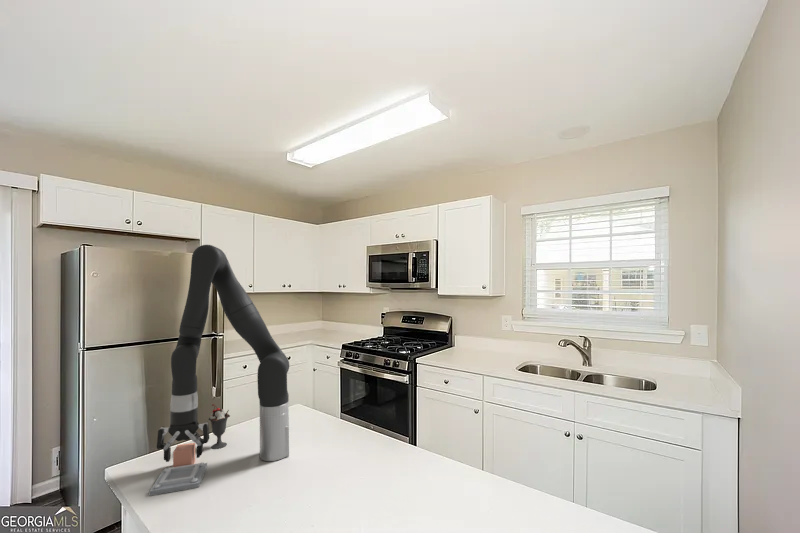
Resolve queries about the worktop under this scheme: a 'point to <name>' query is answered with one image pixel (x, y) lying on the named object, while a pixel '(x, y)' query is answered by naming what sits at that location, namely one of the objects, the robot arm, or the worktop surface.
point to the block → (184, 455)
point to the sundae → (218, 426)
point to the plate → (179, 478)
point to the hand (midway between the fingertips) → (183, 458)
